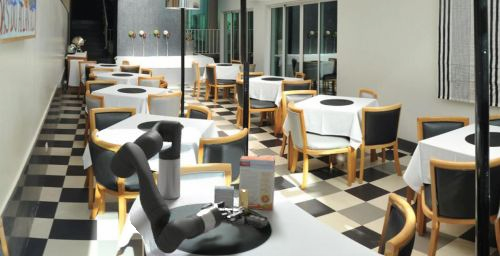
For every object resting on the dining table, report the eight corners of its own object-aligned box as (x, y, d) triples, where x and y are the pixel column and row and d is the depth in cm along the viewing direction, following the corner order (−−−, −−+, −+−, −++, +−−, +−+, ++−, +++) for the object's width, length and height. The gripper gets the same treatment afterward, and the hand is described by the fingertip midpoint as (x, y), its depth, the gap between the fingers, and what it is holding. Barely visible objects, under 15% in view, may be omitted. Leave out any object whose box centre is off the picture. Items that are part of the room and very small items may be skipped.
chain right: (245, 224, 168) (245, 216, 168) (252, 220, 172) (252, 212, 172) (261, 228, 165) (261, 221, 164) (268, 224, 169) (268, 217, 168)
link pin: (236, 221, 171) (237, 190, 169) (241, 218, 174) (242, 188, 172) (244, 223, 169) (245, 192, 167) (249, 220, 172) (250, 190, 170)
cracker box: (273, 205, 189) (275, 157, 185) (272, 210, 183) (274, 160, 179) (240, 202, 191) (242, 154, 187) (238, 207, 185) (239, 158, 181)
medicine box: (233, 205, 187) (234, 185, 186) (233, 209, 183) (234, 189, 181) (214, 205, 187) (214, 185, 185) (213, 209, 183) (214, 188, 181)
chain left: (218, 216, 175) (219, 209, 174) (226, 213, 179) (226, 206, 178) (233, 221, 171) (234, 213, 171) (240, 217, 175) (241, 209, 175)
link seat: (232, 221, 170) (232, 214, 170) (242, 216, 176) (242, 209, 175) (244, 225, 168) (244, 217, 167) (253, 219, 173) (253, 212, 173)
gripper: (188, 225, 155) (217, 211, 168) (222, 236, 147) (249, 221, 161) (189, 204, 153) (217, 192, 167) (223, 214, 146) (250, 201, 159)
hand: (233, 206), depth 164 cm, fingers open, 8 cm apart
